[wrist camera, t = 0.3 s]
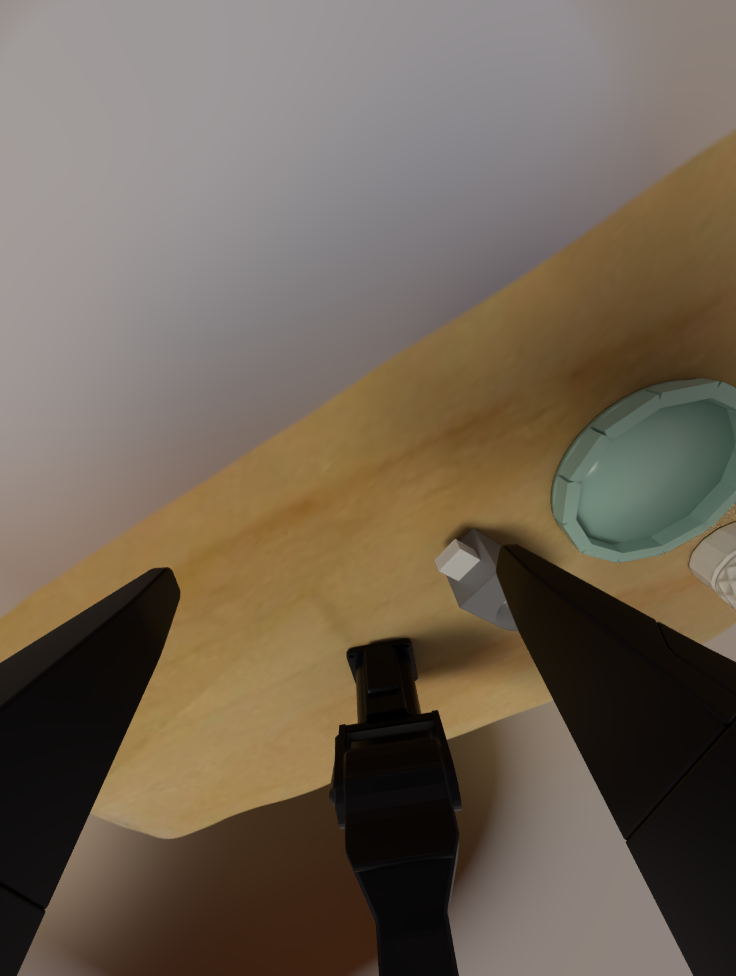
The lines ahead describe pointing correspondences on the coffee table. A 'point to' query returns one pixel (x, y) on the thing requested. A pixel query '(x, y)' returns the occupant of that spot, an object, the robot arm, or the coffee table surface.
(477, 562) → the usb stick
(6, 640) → the coffee table surface
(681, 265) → the coffee table surface
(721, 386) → the dish
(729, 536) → the white cup
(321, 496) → the coffee table surface
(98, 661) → the robot arm
